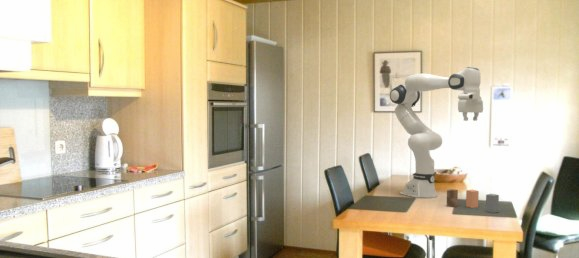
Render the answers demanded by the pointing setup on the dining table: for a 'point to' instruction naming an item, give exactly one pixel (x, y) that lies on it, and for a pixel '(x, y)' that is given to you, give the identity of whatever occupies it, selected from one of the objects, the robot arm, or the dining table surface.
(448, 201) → the walnut bar
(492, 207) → the charcoal bar
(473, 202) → the terracotta bar
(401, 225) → the dining table surface
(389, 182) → the dining table surface
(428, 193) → the robot arm
